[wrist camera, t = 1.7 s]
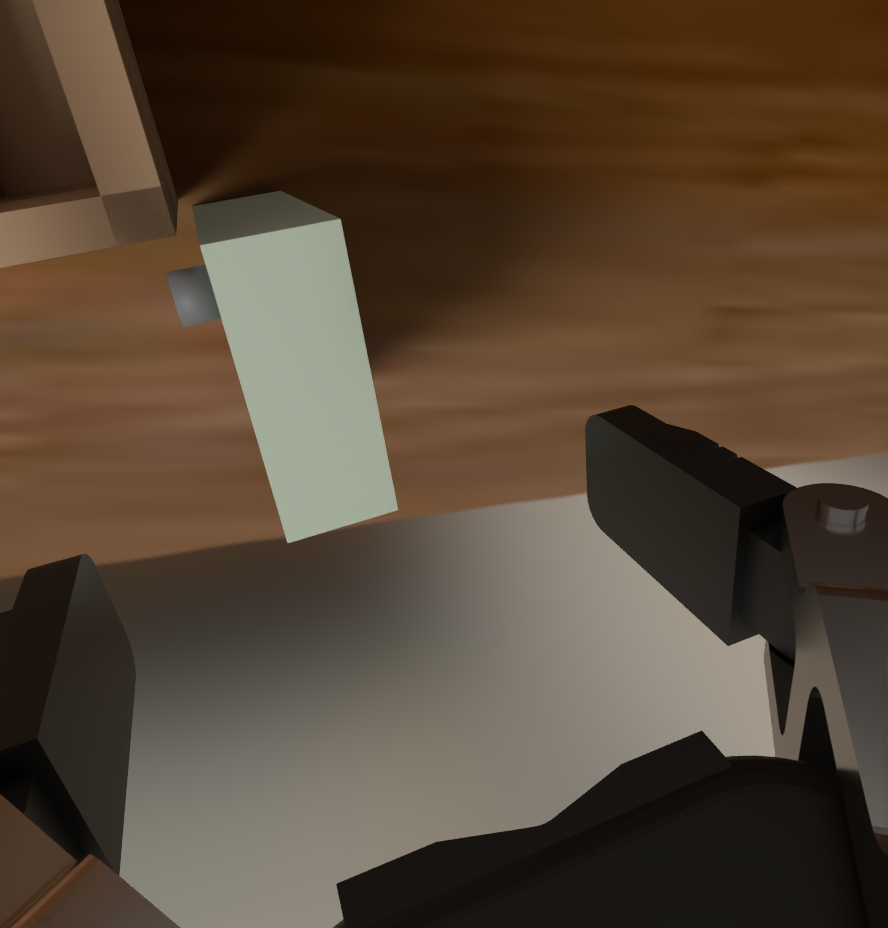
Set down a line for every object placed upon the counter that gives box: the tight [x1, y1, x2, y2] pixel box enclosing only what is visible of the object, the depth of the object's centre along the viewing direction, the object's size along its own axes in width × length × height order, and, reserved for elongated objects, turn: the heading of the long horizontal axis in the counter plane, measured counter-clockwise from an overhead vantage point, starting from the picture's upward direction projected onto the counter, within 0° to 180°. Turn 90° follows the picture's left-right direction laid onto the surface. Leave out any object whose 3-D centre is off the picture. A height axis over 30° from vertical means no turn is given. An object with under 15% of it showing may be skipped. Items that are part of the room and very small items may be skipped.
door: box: [167, 191, 398, 543], centre depth 22 cm, size 4×8×11 cm, turn 8°
